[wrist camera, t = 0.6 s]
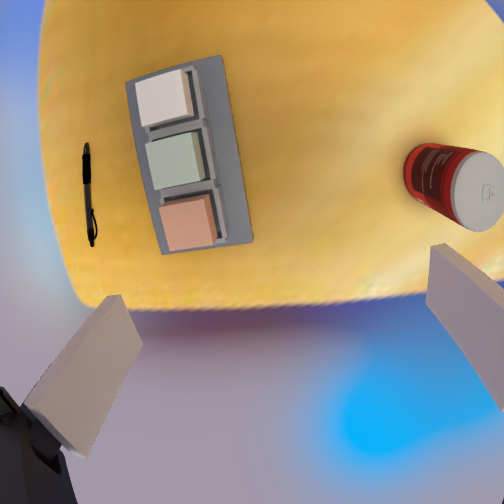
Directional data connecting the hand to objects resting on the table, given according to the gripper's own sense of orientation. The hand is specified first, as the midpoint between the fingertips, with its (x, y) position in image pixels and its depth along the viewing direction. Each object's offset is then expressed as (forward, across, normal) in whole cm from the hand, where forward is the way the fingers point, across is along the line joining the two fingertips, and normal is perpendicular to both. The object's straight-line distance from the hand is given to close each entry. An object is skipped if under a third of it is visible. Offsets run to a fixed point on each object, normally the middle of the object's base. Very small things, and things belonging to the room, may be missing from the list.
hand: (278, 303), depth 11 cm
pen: (+22, -22, +5) cm, 32 cm away
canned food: (+22, +20, 0) cm, 30 cm away
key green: (+18, -8, +6) cm, 21 cm away
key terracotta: (+18, -8, 0) cm, 20 cm away
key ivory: (+18, -8, +12) cm, 23 cm away
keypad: (+22, -8, +6) cm, 24 cm away
